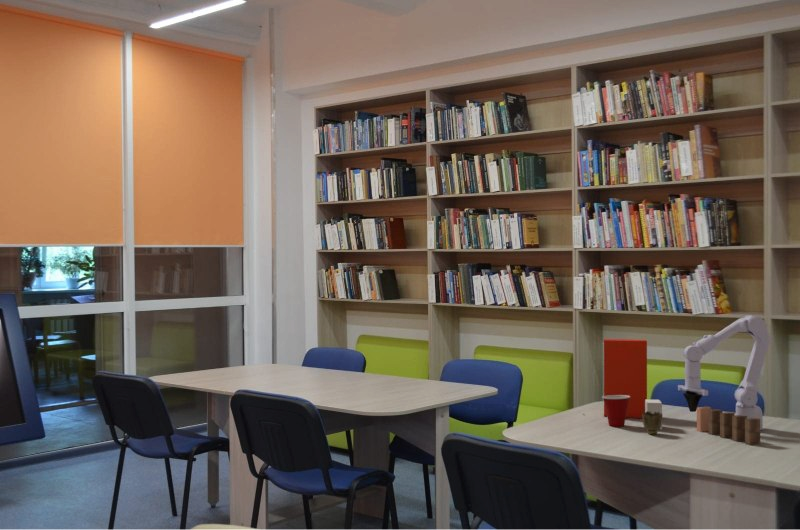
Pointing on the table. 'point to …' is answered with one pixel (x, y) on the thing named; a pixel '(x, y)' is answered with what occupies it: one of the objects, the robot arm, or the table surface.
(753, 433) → the domino
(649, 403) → the small box
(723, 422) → the domino
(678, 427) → the table surface
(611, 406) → the plastic cup
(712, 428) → the domino
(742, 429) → the domino
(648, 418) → the cup
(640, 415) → the tall red box
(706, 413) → the domino
